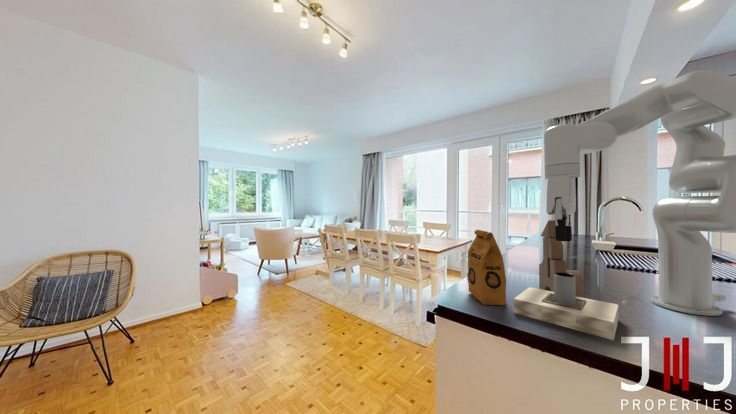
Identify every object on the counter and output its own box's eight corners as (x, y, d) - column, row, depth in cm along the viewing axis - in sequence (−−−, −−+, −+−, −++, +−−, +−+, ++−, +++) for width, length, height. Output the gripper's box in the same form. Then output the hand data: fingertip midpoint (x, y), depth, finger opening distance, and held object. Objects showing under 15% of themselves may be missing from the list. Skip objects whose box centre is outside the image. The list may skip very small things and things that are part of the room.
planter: (580, 315, 65) (579, 276, 65) (563, 316, 65) (562, 276, 65) (566, 308, 70) (565, 271, 70) (550, 309, 70) (549, 272, 70)
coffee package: (477, 306, 75) (475, 233, 75) (465, 292, 88) (464, 229, 88) (511, 307, 74) (510, 232, 74) (494, 292, 87) (493, 228, 87)
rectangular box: (514, 312, 70) (513, 297, 70) (529, 299, 80) (529, 286, 80) (613, 340, 55) (613, 321, 55) (618, 320, 65) (618, 303, 65)
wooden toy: (585, 306, 74) (584, 221, 73) (559, 305, 75) (558, 221, 75) (558, 289, 89) (557, 218, 89) (537, 288, 90) (535, 218, 90)
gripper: (552, 175, 75) (553, 236, 75) (537, 172, 65) (539, 242, 65) (584, 172, 70) (586, 238, 70) (574, 168, 60) (576, 245, 60)
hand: (563, 240), depth 67 cm, fingers closed
